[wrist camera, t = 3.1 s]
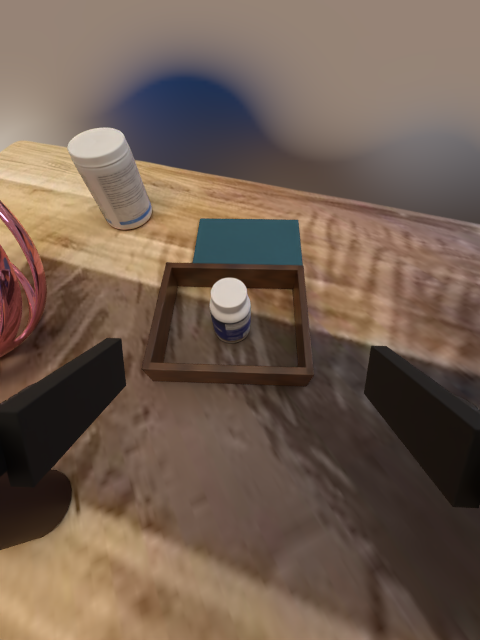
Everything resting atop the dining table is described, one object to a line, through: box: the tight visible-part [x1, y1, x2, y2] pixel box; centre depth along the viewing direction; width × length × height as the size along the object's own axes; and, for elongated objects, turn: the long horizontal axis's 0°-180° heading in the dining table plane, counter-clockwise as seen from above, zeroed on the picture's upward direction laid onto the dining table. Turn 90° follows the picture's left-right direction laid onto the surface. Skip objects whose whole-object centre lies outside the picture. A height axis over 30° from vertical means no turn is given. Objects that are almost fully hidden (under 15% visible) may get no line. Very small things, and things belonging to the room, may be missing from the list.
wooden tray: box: [142, 263, 314, 386], centre depth 41 cm, size 22×18×5 cm
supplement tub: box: [67, 128, 152, 230], centre depth 50 cm, size 10×10×15 cm
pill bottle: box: [209, 278, 251, 343], centre depth 39 cm, size 6×6×10 cm
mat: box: [193, 219, 303, 265], centre depth 52 cm, size 20×12×1 cm, turn 88°
